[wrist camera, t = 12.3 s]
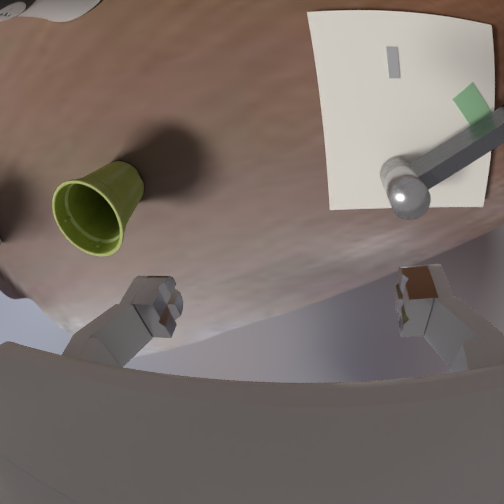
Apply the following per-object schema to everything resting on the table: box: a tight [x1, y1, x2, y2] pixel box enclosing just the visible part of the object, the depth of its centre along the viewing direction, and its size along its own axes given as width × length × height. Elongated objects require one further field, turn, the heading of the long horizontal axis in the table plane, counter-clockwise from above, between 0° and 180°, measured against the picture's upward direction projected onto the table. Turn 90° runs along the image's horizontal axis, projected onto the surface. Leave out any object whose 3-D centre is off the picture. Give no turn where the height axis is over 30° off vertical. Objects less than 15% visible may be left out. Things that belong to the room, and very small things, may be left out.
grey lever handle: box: [380, 105, 504, 220], centre depth 23 cm, size 17×4×6 cm, turn 132°
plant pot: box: [52, 161, 144, 256], centre depth 34 cm, size 9×9×9 cm
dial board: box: [307, 10, 495, 210], centre depth 25 cm, size 20×18×2 cm
